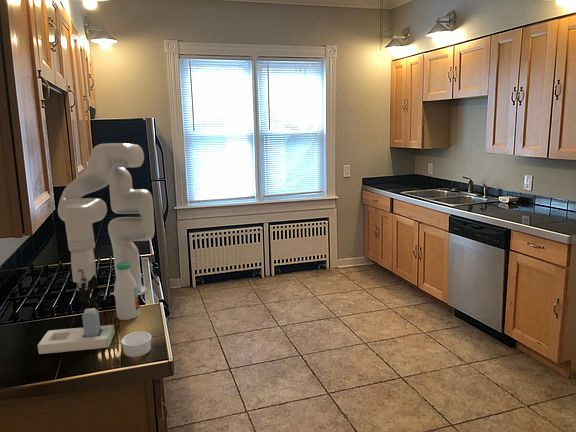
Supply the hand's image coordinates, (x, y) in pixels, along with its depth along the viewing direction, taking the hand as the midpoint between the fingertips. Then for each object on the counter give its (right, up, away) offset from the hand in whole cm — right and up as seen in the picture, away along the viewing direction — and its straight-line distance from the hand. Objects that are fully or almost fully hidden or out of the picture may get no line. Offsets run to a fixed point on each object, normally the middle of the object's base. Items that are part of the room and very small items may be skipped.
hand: (88, 294), depth 150 cm
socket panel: (-5, -16, +2) cm, 17 cm away
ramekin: (+17, -17, -4) cm, 24 cm away
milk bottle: (+5, -11, +21) cm, 25 cm away
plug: (0, -16, +3) cm, 16 cm away
